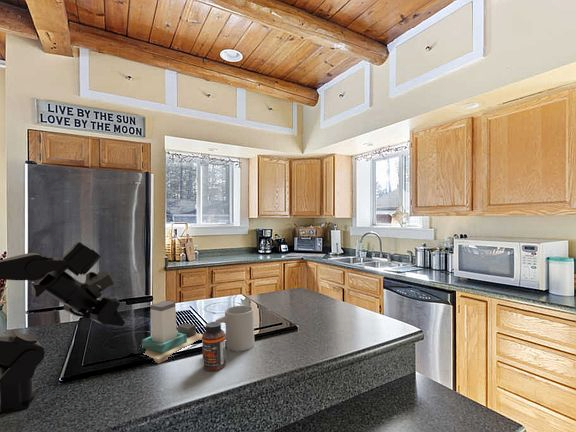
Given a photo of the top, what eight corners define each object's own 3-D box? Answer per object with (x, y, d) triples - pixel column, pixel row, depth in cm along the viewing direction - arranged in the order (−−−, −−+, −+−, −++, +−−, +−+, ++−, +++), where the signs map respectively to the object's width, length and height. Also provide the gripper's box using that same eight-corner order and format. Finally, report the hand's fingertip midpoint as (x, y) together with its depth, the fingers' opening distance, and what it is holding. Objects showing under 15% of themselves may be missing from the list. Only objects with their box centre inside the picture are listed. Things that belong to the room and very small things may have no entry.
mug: (250, 337, 103) (248, 303, 102) (258, 348, 95) (256, 311, 95) (212, 345, 98) (210, 309, 98) (217, 356, 90) (216, 318, 90)
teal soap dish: (159, 363, 87) (158, 348, 87) (130, 353, 94) (129, 339, 94) (207, 339, 103) (206, 326, 103) (179, 332, 109) (179, 320, 109)
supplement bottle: (199, 371, 82) (197, 328, 82) (208, 360, 88) (206, 319, 88) (221, 372, 81) (219, 328, 81) (229, 361, 87) (227, 320, 87)
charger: (163, 349, 93) (161, 307, 93) (152, 346, 96) (150, 305, 96) (177, 343, 98) (175, 302, 97) (166, 340, 100) (164, 300, 100)
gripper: (111, 266, 78) (153, 300, 87) (75, 261, 88) (116, 292, 98) (76, 306, 72) (125, 339, 81) (42, 296, 82) (89, 326, 91)
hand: (114, 321), depth 88 cm, fingers open, 9 cm apart
